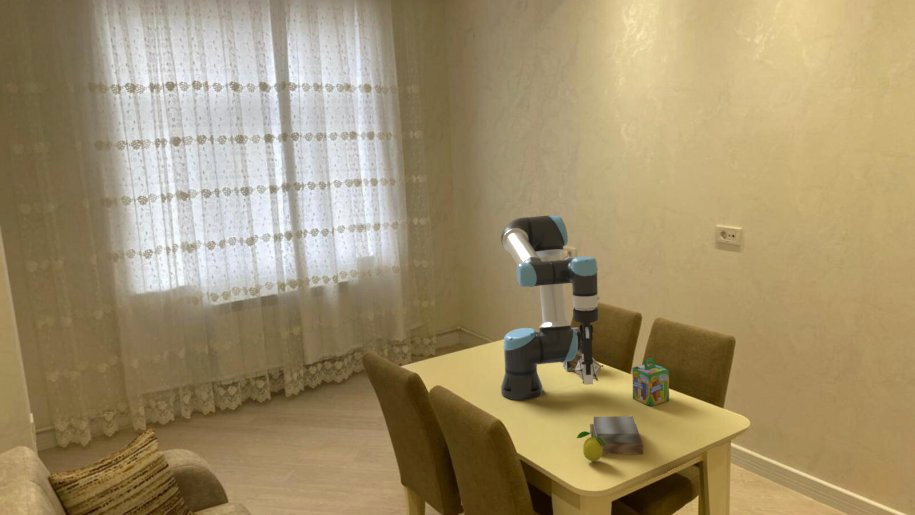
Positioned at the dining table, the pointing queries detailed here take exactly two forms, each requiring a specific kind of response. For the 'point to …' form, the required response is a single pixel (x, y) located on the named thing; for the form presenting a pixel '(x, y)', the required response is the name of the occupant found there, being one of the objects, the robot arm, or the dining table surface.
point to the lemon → (592, 446)
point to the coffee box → (572, 364)
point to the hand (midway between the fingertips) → (587, 379)
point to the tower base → (620, 446)
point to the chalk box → (650, 383)
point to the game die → (581, 373)
